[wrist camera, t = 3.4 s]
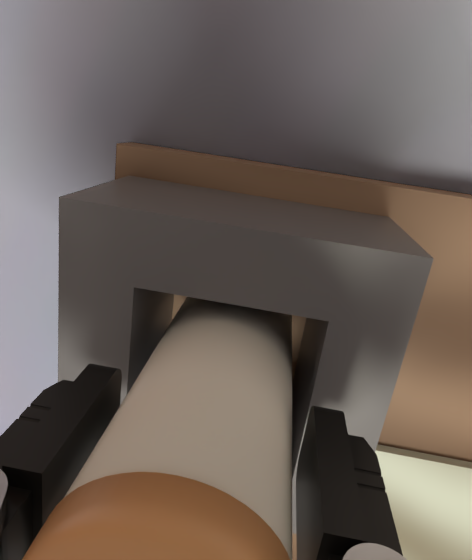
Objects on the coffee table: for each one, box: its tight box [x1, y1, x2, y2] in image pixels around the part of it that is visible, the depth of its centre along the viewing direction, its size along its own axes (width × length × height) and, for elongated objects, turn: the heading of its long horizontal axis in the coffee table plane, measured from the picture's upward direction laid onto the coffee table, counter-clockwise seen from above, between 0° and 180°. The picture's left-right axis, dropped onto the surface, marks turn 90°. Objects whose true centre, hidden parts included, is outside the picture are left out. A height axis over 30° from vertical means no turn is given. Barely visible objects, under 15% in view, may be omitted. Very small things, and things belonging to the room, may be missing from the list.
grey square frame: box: [58, 176, 434, 534], centre depth 14 cm, size 9×9×5 cm
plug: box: [22, 297, 292, 560], centre depth 11 cm, size 4×4×12 cm
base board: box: [115, 142, 472, 560], centre depth 19 cm, size 20×20×2 cm
